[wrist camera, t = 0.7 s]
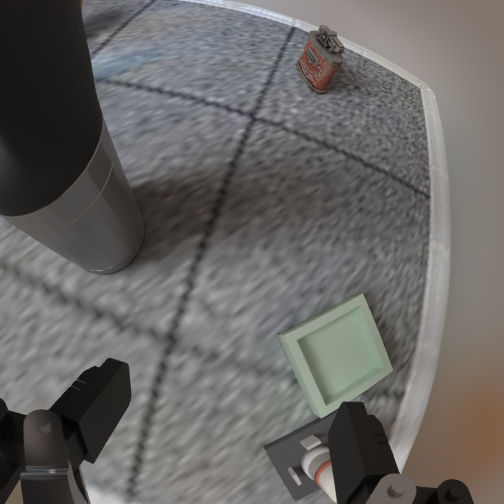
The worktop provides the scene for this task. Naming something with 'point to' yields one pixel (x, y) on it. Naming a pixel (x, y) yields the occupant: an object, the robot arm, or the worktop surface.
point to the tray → (336, 354)
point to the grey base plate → (299, 454)
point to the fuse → (319, 468)
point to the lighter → (320, 59)
